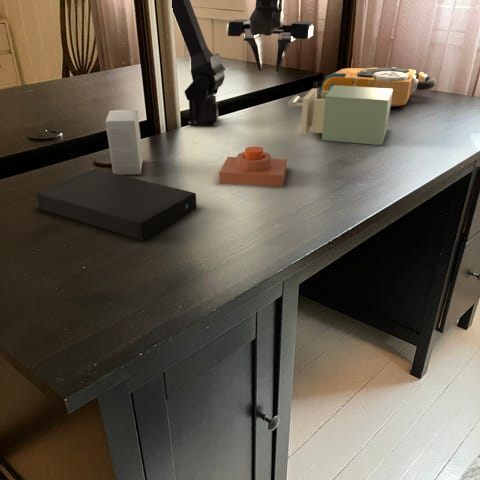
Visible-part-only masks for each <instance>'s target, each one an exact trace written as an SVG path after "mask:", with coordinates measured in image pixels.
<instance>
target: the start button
mask: <svg viewBox="0 0 480 480" xmlns="http://www.w3.org/2000/svg"><path fill="white" fill-rule="evenodd" d="M244 152H245V159H248V160H260V159H263V155H264V152H265V150H264V148H263V147H261V146H248V147H245V148H244Z"/></svg>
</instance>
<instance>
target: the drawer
mask: <svg viewBox="0 0 480 480" xmlns="http://www.w3.org/2000/svg"><path fill="white" fill-rule="evenodd" d="M329 92H330V91H321V90H320V98H317V95H318V88H315V87H314V88H311V89H310V90H309V91H308V92H307V94H305V95H304V97H300V96H299V95H297V94H295V95H294V96H293V97H292V98H291V99H290V100H289V101H288V102H287V106H288V107H289V108H293V107H294V106H296V107H302V108H301V121H300V122H301V123H300V134H301V135H302V134H303V135H306V134H307V133H308V132H309V130H310V129H311V128H312V129H311V133H316V134H323V121H324V109H325V97H326V95H327V94H328V93H329ZM299 101H300V102H299Z"/></svg>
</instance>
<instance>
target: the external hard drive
mask: <svg viewBox="0 0 480 480" xmlns="http://www.w3.org/2000/svg"><path fill="white" fill-rule="evenodd" d="M36 198H37V202H38V206H39V210H42V211H45V212H48V213H52V214H55V215H58V216H61V217H63V218H68V219H70V220H75V221H78V222H81V223H83V224H87V225H91V226H94V227H97V228H99V229H103V230H107V231H110V232H114V233H117V234H120V235H123V236H126V237H130V238H132V239H137V240H139V241H143V242H144V241H146V240H148V239H149V238H151V237H152V236H155V235H156V234H158V233H159V232H161V231H162V230H164V229H166V228H168V227H169V226H171V225H173V224H174V223H176V222H178V221H180V220H181V219H183V218H184V217H186V216H188V215H189V214H191V213H193V212H194V211H196V210H197V208H198V207H197V193H196V192H193V191H188V190H184V189H180V188H176V187H172V186H168V185H165V184H159V183H156V182H151V181H147V180H144V179H140V178H136V177H131V176H128V175H119V174H115V173H113V172H111V171H106V170H102V169H98V168H94V169H91V170H89V171H87V172H84V173H82V174H79V175H77V176H74V177H72V178H70V179H68V180H65V181H62V182H60V183H57V184H55V185H53V186H50V187H48V188H46V189H44V190H41V191H38V192H37V193H36Z"/></svg>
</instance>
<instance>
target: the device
mask: <svg viewBox="0 0 480 480" xmlns="http://www.w3.org/2000/svg"><path fill="white" fill-rule="evenodd" d="M436 84H437V81H436V78H435V77H433V76H428V74H427V73H424V72H422V71H420V72H419V73H416V70H415V69H409V68H408V69H407V68H400V67H399V68H398V67H395V66H394V67H393V66H392V67H367V68H363V67H362V68H361V67H348V68H341V69H340V70H337V71H335V72H333V73H331V74H329V75H327V76H326V77H325V78H324V79H323V81H322V83H321V86H320V92H321V91H330V90H331V89H332V88H333V87H334V85H339V86H356V87H372V88H389V89H393V92H392V100H391V106H390V108H391V107H399V106H406V105H407V104H408V100H410V97H411V95H413V94H414V92H417V91H424V90H431V89H433V88H434V87H435V86H436Z"/></svg>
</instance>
